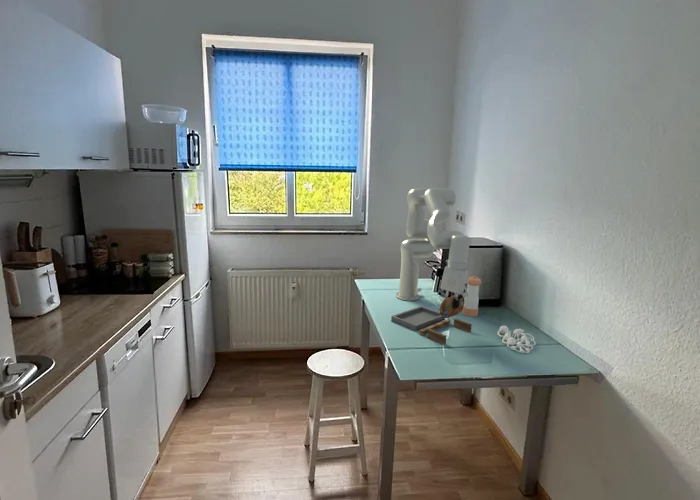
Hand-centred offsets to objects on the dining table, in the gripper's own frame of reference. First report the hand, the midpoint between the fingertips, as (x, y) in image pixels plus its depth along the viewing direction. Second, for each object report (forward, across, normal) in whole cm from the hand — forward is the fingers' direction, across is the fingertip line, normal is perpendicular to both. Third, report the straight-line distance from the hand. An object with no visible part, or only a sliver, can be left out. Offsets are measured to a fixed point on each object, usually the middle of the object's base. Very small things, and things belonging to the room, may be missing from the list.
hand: (452, 306), depth 171 cm
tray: (+13, -17, +2) cm, 22 cm away
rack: (+12, -1, 0) cm, 12 cm away
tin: (+4, -1, 0) cm, 4 cm away
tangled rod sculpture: (+13, +23, +16) cm, 31 cm away
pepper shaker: (+13, -7, +30) cm, 33 cm away
